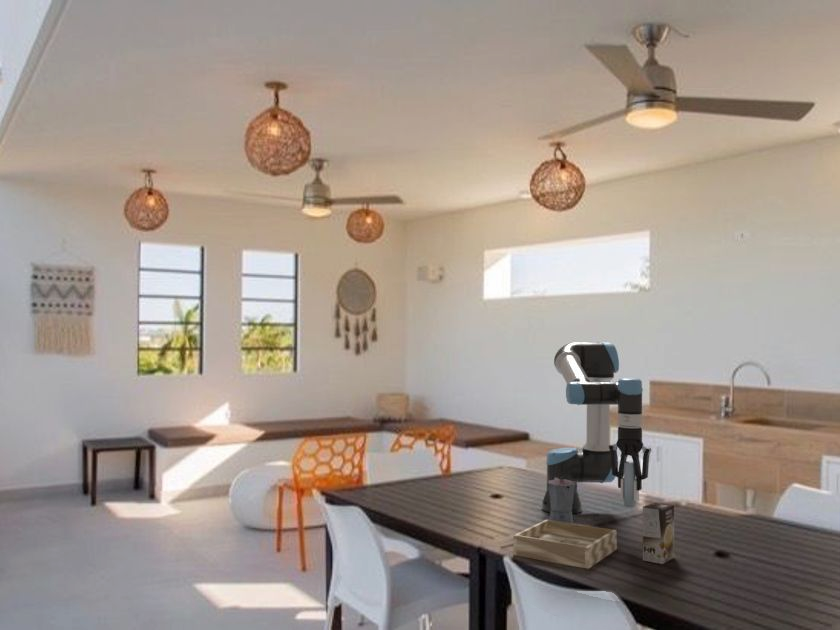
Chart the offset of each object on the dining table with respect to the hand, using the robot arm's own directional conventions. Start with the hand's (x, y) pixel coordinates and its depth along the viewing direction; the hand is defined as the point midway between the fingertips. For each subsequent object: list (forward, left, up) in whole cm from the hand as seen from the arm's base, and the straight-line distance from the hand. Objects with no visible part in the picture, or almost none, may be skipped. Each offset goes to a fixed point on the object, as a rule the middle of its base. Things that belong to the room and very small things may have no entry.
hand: (629, 499), depth 244 cm
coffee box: (+10, +12, -15) cm, 22 cm away
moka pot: (-2, -25, -15) cm, 29 cm away
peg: (0, 0, -2) cm, 2 cm away
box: (+19, -14, -15) cm, 28 cm away
